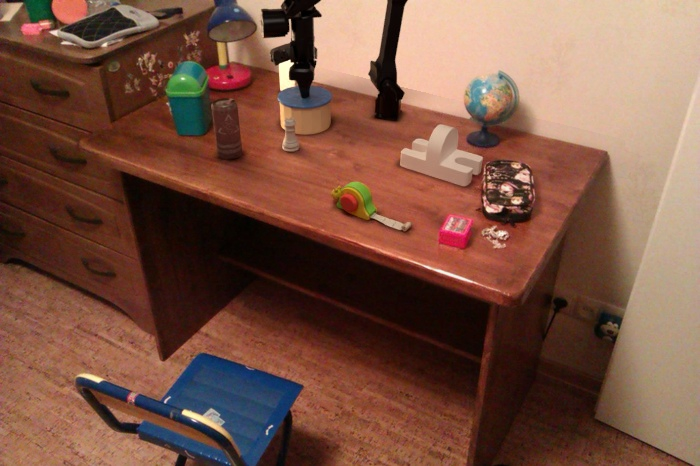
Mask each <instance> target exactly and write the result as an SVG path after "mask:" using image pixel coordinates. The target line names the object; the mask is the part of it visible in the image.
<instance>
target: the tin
mask: <svg viewBox="0 0 700 466" xmlns="http://www.w3.org/2000/svg"><path fill="white" fill-rule="evenodd" d="M331 102H332V100H331V101H330V102H329V103H328V104H326V105H324V106H321V107H318V108H312V109H296V108H290V107H287V106H284V105H282V104H281V103H280V102H279V114H280V115H279V116H280V117H279V119H280V127H281V128H282V129H283V130H284V128H285V126H284V125H283V123H284V120H285V119H286V118H288V119H290V118H294V120H295V122H296V125H295V128H296V129H295V135H305V136H306V135H307V136H308V135H315V134H319V133H322V132H325V131H326V130H328V129H329V128H330V126H331V123H332V113H331V110H332V104H331Z"/></svg>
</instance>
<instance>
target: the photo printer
mask: <svg viewBox="0 0 700 466" xmlns="http://www.w3.org/2000/svg"><path fill="white" fill-rule="evenodd" d="M293 64H294V63H290V60H288V61H286V62H283V63H280V64H279V65H278V75H279V76H278V77H279V90H280V92H281V91H282V90H284V89H286V88H289V87H294V86H298V83H297V81H295V80H289V69H290V67H291V66H292V65H293Z"/></svg>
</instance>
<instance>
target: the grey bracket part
mask: <svg viewBox="0 0 700 466" xmlns="http://www.w3.org/2000/svg"><path fill="white" fill-rule="evenodd" d="M458 145H459V130H458V129H457V128H456V127H454V126H450V125H446V124H443V123H440V124H437V126H436V127H434V129H433V130H432V132H431V135H430V137H429V139H428V140H427V139H424V138H415V140H413V141H412V142H411V148H407V147H404V148H403V149H402V150H401V151H400V158H399V166H400V167H402V168H405V169H408V170H411V171H413V172H416V173H420V174H423V175H426V176H430V177H432V178H436V179H438V180H442V181H445V182H448V183H450V184H455V185H457V186H461V187H467V186H469V185H470V184H471V183H472V179H473V175H475V176H479V175H480V174H481V172H482V168H483V160H484V157H483V156H482V155H479V154H475V153H471V152H468V151H466V150H461V149H458Z"/></svg>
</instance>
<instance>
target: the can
mask: <svg viewBox="0 0 700 466" xmlns="http://www.w3.org/2000/svg"><path fill="white" fill-rule="evenodd" d="M211 114H212V121H213V123H212V124H213V129H214V138H215V146H216V152H217V156H218V157H219V158H220V159H221V160H225V161H232V160H236V159H238V158H240V157H241V156H242V154H243V147H242V136H241V127H240V117H239V108H238V103H237V102H236V100H235V99H234V98H230V97H221V98H217V99H215V100H213V101H212V104H211Z"/></svg>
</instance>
